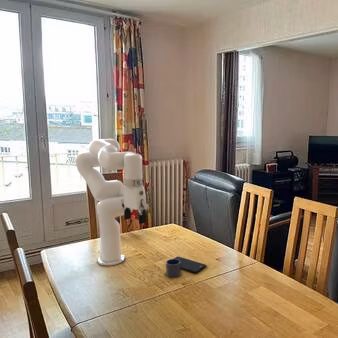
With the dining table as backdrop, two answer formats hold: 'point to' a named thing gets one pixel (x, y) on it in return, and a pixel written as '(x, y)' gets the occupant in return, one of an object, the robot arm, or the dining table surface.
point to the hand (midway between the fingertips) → (134, 221)
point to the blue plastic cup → (173, 268)
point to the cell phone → (190, 265)
